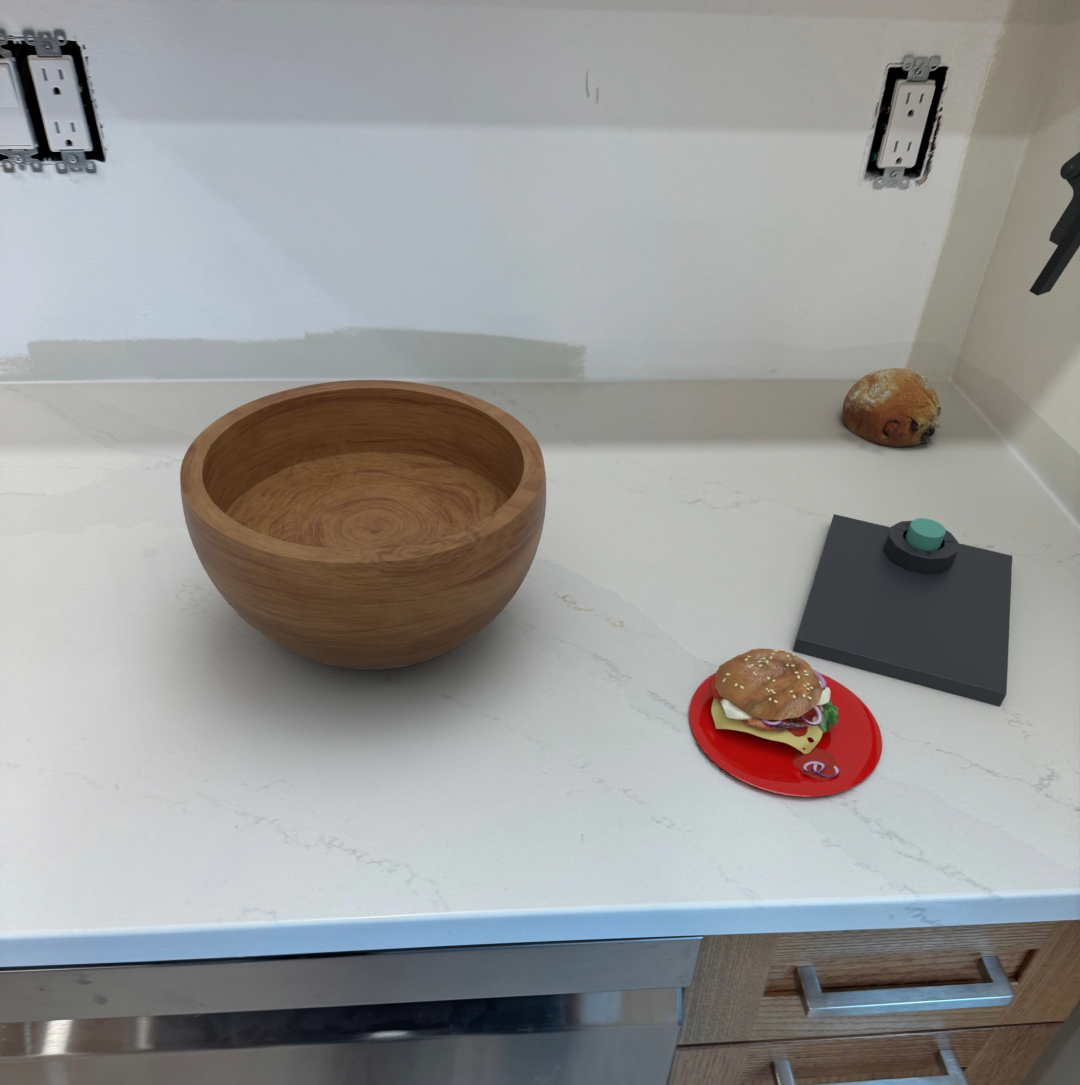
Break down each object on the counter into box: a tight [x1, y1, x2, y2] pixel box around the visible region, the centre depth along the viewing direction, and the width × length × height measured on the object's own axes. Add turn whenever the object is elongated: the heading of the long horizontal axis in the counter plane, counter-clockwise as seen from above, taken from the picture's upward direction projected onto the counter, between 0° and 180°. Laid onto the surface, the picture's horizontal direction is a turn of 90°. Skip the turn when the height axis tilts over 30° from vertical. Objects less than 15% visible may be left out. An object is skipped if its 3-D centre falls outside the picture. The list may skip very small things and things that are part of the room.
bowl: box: [179, 379, 547, 670], centre depth 71 cm, size 25×25×15 cm
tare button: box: [905, 517, 947, 551], centre depth 84 cm, size 3×3×2 cm
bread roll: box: [841, 367, 942, 448], centre depth 104 cm, size 10×10×8 cm
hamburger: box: [688, 646, 883, 798], centre depth 68 cm, size 14×14×6 cm
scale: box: [791, 513, 1013, 707], centre depth 80 cm, size 16×20×3 cm
